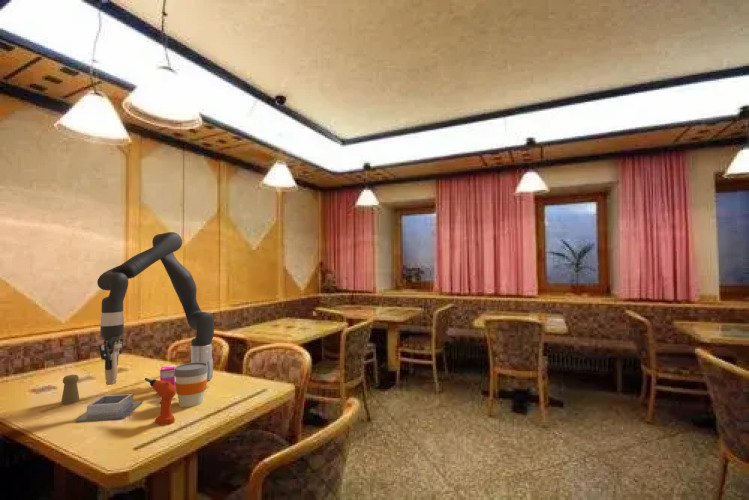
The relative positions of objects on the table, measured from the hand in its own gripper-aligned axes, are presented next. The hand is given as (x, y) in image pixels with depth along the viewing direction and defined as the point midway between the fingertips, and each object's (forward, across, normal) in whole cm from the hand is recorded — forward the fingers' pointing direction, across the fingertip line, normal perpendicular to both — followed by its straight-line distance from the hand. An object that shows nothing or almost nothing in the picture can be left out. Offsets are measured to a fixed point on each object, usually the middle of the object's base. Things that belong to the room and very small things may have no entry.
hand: (111, 367), depth 146 cm
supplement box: (+17, +19, -14) cm, 29 cm away
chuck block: (+17, 0, 0) cm, 17 cm away
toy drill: (+17, -11, -21) cm, 29 cm away
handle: (+6, 0, 0) cm, 6 cm away
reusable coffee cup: (+17, +4, -28) cm, 33 cm away
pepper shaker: (+17, +16, +23) cm, 33 cm away
